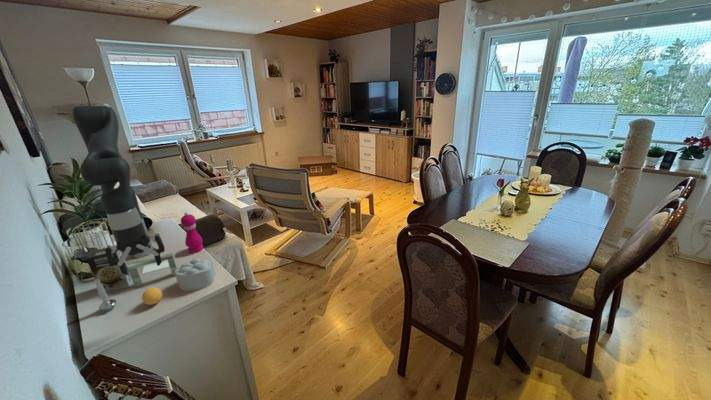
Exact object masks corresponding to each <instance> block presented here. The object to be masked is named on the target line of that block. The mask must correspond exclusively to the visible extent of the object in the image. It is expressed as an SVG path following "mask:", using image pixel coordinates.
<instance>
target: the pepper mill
mask: <svg viewBox="0 0 711 400" xmlns="http://www.w3.org/2000/svg"><path fill="white" fill-rule="evenodd" d="M196 220H197V219H196V217H195V216H194V215H193V214H189V212H188V211H185V212H184V215H183V216H182V217H181V218H180V224H181V225H182V226H183V229H184V230H185V234H186V237H185V246H186V247H188V248H187V249H188V252H189V253H190V254H196V253H199V252H201V251H203V249H204V245H203V237H202V236H201V234H199V232H198V231H197V229H196V226H197V225H196Z"/></svg>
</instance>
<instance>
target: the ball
mask: <svg viewBox="0 0 711 400" xmlns="http://www.w3.org/2000/svg"><path fill="white" fill-rule="evenodd" d="M162 298H163V292H162V290H161V289H160V288H158V287H155V286H154V287H149V288H147V289H145V290H144V291H143V293H142V296H141V300H142V302H143V303H144V304H146V305H149V306H152V305H155V304H157V303H160V301H161V299H162Z"/></svg>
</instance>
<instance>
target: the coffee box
mask: <svg viewBox="0 0 711 400" xmlns="http://www.w3.org/2000/svg"><path fill="white" fill-rule="evenodd" d="M105 249H106V247H104V248H100V249H94V250H90V252H89V253H88V254H87V256H86V258H85V260H86V261H87V264H88V266H89V268H90V271H91V273H92V275H93V277H94V280H95V279H99V280H100V282H101V284H102V285H103V286H104V289H105V291H106V293H109V292H112V291H116V290H121V289H123V288H128V287H130V285H131V281H132V278H131V276H130V273H129V274H128V275H125V274H122V273H121V270H120V268H119V266H117V265H114V266H110V265H109V262H108V259H107V256H106V253H105ZM122 253H123V252H121V251H119V250H118V249H116V250H115V252H114V253H113V254H114V257H115V260H119V259H120V257H121V255H122ZM124 262H125V263H126V266H128V264H127V261H126V260H125V261H124Z"/></svg>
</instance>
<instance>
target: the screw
mask: <svg viewBox="0 0 711 400" xmlns="http://www.w3.org/2000/svg"><path fill="white" fill-rule="evenodd" d="M93 282H94V283H95V285H96V286H95V287H96V290H97V292H98V295H99V296H100V299H101V302H102V303H101V304H100V305H99V306H98V309H99V310H104V311H105V312H110V311H111V310H113V309H114V308H115V305H116V304H117V300H116V299H113V298H112V299H110V298H109V296H108V294H107V293H108V292H106V291H105V289H104V286H103V285H102V284H101V282H100V280H99V279H95V278H94V280H93Z"/></svg>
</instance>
